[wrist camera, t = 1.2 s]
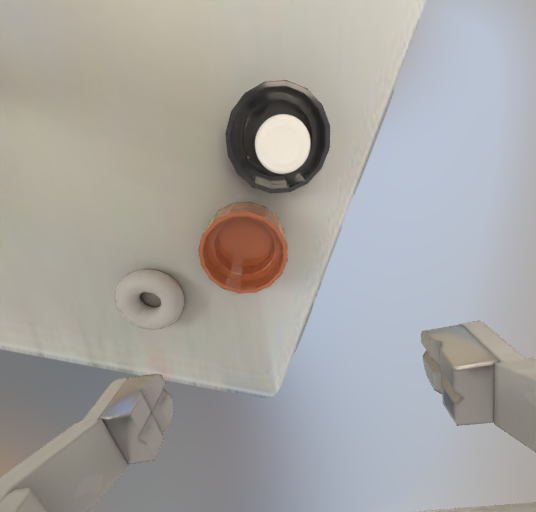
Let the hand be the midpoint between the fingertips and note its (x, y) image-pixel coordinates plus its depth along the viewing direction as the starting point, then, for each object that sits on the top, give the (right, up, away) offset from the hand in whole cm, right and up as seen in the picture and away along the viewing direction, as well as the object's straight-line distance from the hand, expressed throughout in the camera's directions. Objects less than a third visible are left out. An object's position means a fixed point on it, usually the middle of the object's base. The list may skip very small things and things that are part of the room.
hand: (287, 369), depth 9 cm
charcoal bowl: (0, +18, +27) cm, 32 cm away
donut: (-18, -2, +36) cm, 40 cm away
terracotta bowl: (-4, +6, +32) cm, 33 cm away
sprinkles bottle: (0, +18, +26) cm, 32 cm away
